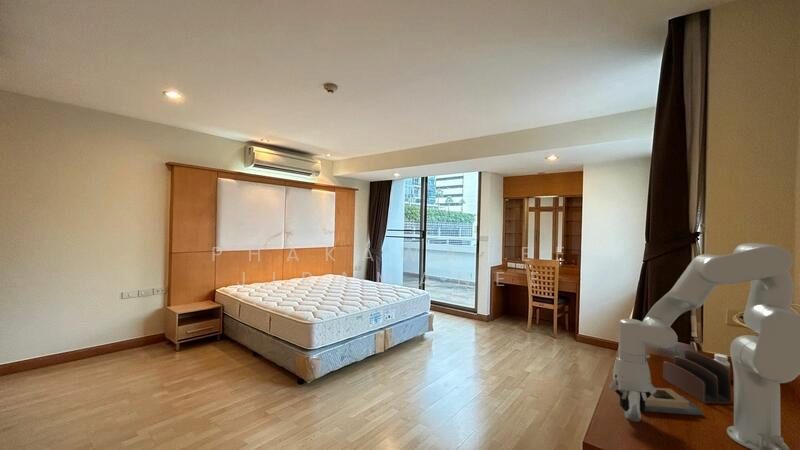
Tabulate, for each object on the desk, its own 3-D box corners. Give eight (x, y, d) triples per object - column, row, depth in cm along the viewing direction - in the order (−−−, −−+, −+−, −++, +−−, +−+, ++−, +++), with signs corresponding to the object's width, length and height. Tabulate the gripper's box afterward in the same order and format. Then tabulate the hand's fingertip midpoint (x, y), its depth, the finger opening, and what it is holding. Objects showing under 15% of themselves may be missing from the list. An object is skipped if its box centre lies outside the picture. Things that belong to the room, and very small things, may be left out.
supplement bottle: (731, 382, 136) (731, 359, 136) (713, 379, 139) (713, 356, 139) (728, 377, 140) (728, 355, 140) (711, 374, 143) (711, 352, 143)
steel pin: (643, 422, 109) (643, 392, 109) (628, 420, 110) (628, 391, 110) (636, 414, 113) (635, 385, 113) (622, 413, 114) (621, 384, 114)
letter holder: (686, 379, 139) (686, 346, 139) (732, 404, 119) (732, 366, 119) (662, 379, 139) (662, 346, 139) (704, 404, 120) (703, 366, 120)
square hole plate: (682, 400, 122) (682, 386, 122) (701, 415, 112) (701, 401, 112) (623, 395, 126) (623, 382, 126) (637, 410, 116) (637, 396, 116)
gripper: (653, 353, 114) (653, 406, 114) (600, 350, 117) (600, 401, 117) (666, 362, 107) (667, 418, 107) (610, 359, 109) (610, 413, 109)
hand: (632, 409), depth 112 cm, fingers closed on steel pin, 4 cm apart
